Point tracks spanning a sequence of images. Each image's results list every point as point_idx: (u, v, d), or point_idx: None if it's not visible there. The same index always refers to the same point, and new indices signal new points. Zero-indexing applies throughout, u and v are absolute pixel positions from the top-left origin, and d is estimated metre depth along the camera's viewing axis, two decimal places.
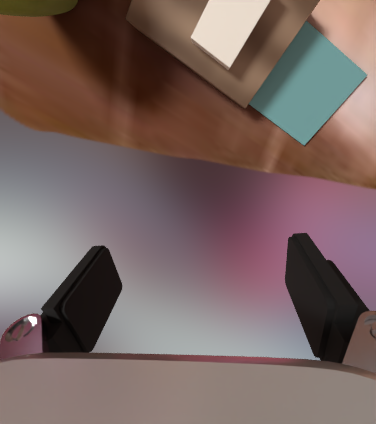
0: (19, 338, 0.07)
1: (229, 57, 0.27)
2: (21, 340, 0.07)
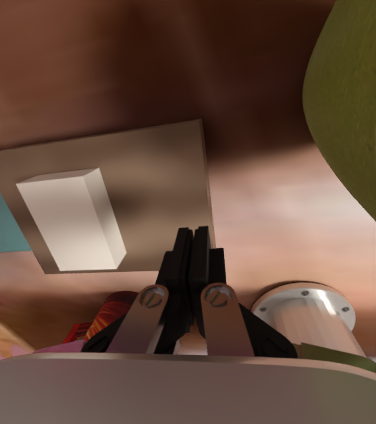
0: (147, 305, 0.08)
1: (28, 193, 0.17)
2: (146, 309, 0.07)
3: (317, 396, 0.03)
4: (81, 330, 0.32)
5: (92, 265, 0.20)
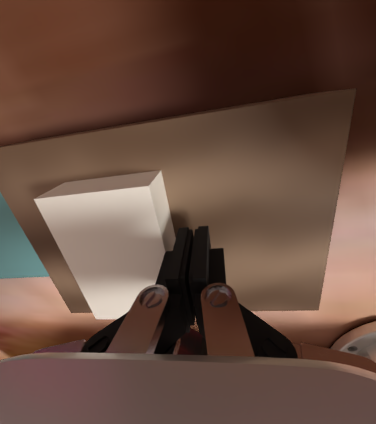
0: (147, 305, 0.08)
1: (54, 213, 0.11)
2: (146, 309, 0.07)
3: (317, 396, 0.03)
4: None
5: None
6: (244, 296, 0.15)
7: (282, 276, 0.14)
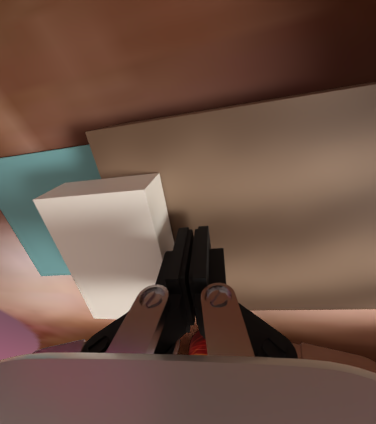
0: (147, 305, 0.08)
1: (52, 214, 0.11)
2: (146, 309, 0.07)
3: (317, 396, 0.03)
4: None
5: None
6: (352, 293, 0.14)
7: None
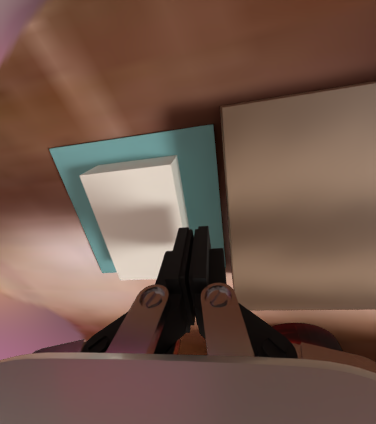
0: (147, 305, 0.08)
1: None
2: (146, 309, 0.07)
3: (317, 396, 0.03)
4: None
5: None
6: None
7: None
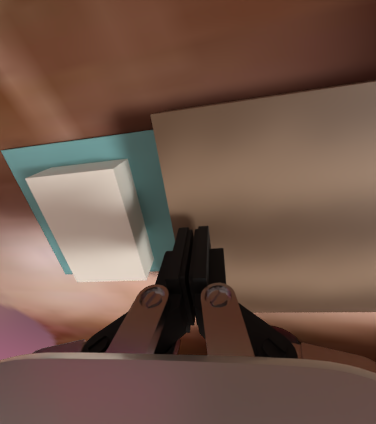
0: (147, 305, 0.08)
1: None
2: (146, 309, 0.07)
3: (317, 396, 0.03)
4: None
5: None
6: None
7: None
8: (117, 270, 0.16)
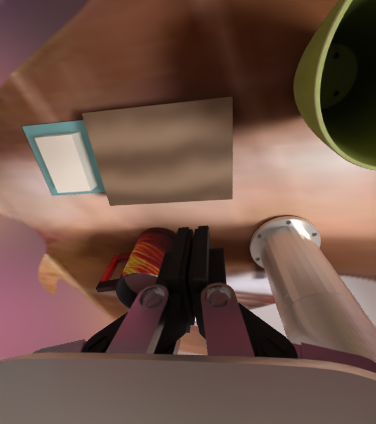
0: (147, 305, 0.08)
1: None
2: (146, 309, 0.07)
3: (317, 396, 0.03)
4: (121, 257, 0.43)
5: None
6: (198, 191, 0.33)
7: (214, 179, 0.32)
8: (76, 185, 0.35)
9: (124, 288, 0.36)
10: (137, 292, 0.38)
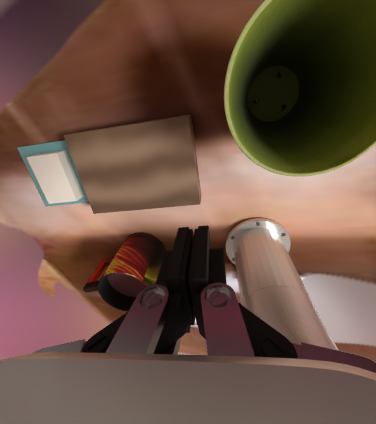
0: (147, 305, 0.08)
1: None
2: (146, 309, 0.07)
3: (317, 396, 0.03)
4: (108, 261, 0.47)
5: None
6: (169, 198, 0.36)
7: (182, 187, 0.35)
8: (64, 196, 0.40)
9: (107, 288, 0.40)
10: (120, 292, 0.41)
